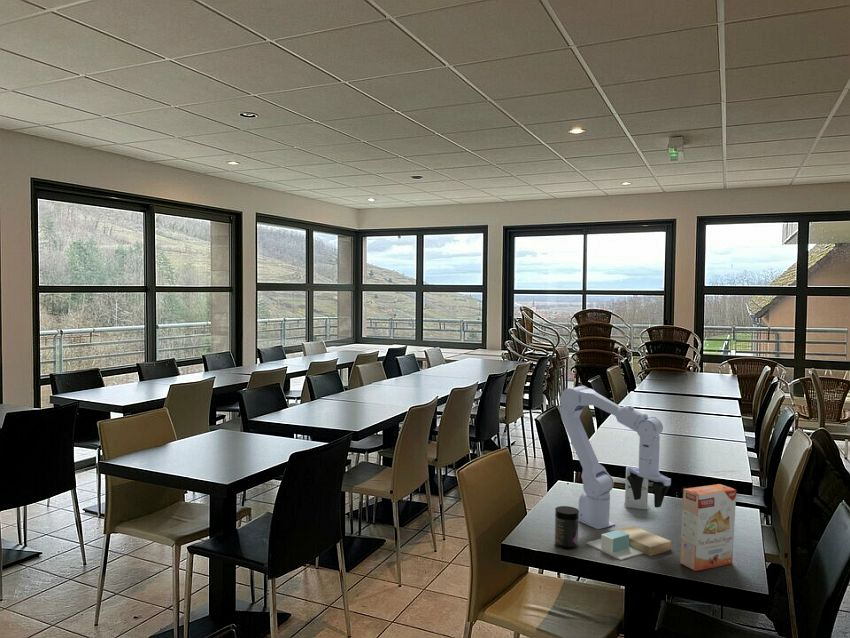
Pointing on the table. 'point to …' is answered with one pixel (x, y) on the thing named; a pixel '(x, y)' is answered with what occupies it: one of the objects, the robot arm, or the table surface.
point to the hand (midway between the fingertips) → (647, 503)
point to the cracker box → (707, 526)
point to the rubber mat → (620, 554)
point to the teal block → (614, 541)
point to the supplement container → (566, 527)
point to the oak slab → (646, 541)
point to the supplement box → (629, 496)
